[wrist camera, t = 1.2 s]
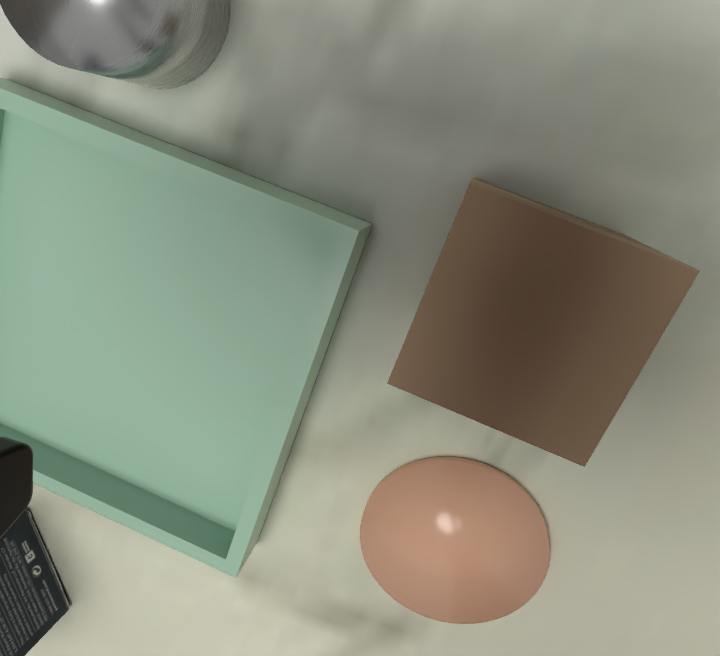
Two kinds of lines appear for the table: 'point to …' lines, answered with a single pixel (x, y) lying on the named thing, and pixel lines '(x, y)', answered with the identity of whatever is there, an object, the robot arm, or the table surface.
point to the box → (27, 588)
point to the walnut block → (537, 321)
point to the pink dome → (455, 540)
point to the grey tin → (125, 36)
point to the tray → (158, 323)
